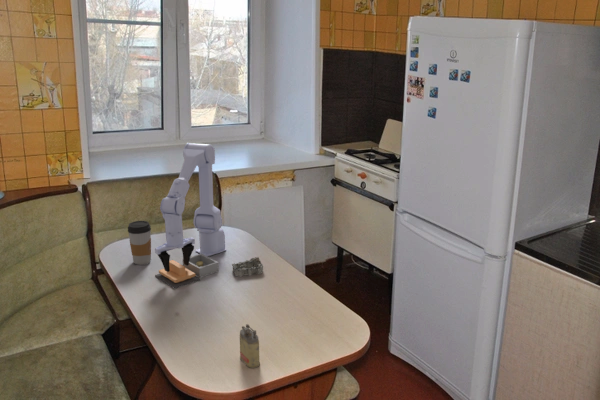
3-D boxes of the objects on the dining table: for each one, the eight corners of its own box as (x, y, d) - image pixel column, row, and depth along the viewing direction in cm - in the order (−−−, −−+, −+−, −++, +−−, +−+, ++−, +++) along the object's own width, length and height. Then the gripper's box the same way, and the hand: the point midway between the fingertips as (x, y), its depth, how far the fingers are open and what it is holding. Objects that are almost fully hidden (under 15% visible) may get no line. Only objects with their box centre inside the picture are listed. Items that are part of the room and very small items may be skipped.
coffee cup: (150, 266, 210) (147, 228, 205) (127, 266, 210) (123, 227, 205) (156, 257, 218) (153, 220, 213) (134, 257, 218) (131, 220, 213)
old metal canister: (237, 356, 154) (236, 323, 150) (250, 352, 156) (249, 319, 152) (250, 369, 148) (249, 335, 145) (263, 365, 150) (262, 331, 147)
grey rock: (260, 266, 210) (260, 256, 209) (264, 275, 204) (264, 264, 202) (231, 269, 208) (231, 259, 206) (234, 278, 201) (234, 267, 200)
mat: (179, 268, 208) (179, 267, 208) (199, 279, 199) (199, 278, 199) (155, 276, 201) (155, 275, 201) (174, 288, 192) (174, 287, 192)
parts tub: (201, 262, 213) (201, 253, 212) (218, 271, 206) (218, 262, 205) (183, 268, 208) (182, 259, 207) (200, 277, 201) (199, 268, 200)
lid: (178, 268, 207) (177, 256, 205) (195, 278, 199) (194, 265, 197) (159, 275, 201) (158, 262, 200) (175, 285, 194) (174, 272, 192)
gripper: (161, 239, 187) (164, 277, 191) (198, 229, 197) (200, 265, 201) (150, 233, 192) (153, 270, 196) (187, 223, 202) (189, 259, 206)
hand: (176, 267), depth 199 cm, fingers open, 7 cm apart
